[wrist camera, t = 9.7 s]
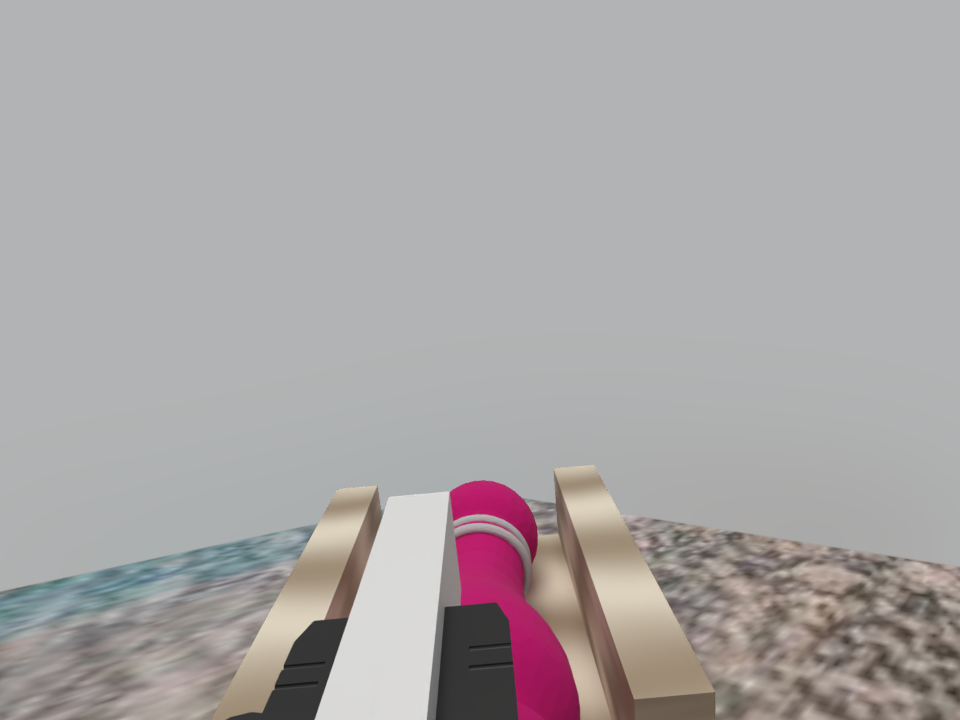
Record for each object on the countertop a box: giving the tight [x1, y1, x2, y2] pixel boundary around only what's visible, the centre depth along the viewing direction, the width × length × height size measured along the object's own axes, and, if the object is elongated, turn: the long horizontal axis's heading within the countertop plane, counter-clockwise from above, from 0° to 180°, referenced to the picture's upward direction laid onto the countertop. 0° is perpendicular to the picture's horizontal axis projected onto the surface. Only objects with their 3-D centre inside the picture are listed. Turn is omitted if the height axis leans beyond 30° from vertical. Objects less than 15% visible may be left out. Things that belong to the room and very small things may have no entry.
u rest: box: [211, 465, 715, 720], centre depth 26 cm, size 17×16×7 cm
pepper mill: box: [450, 480, 580, 720], centre depth 23 cm, size 7×7×20 cm
